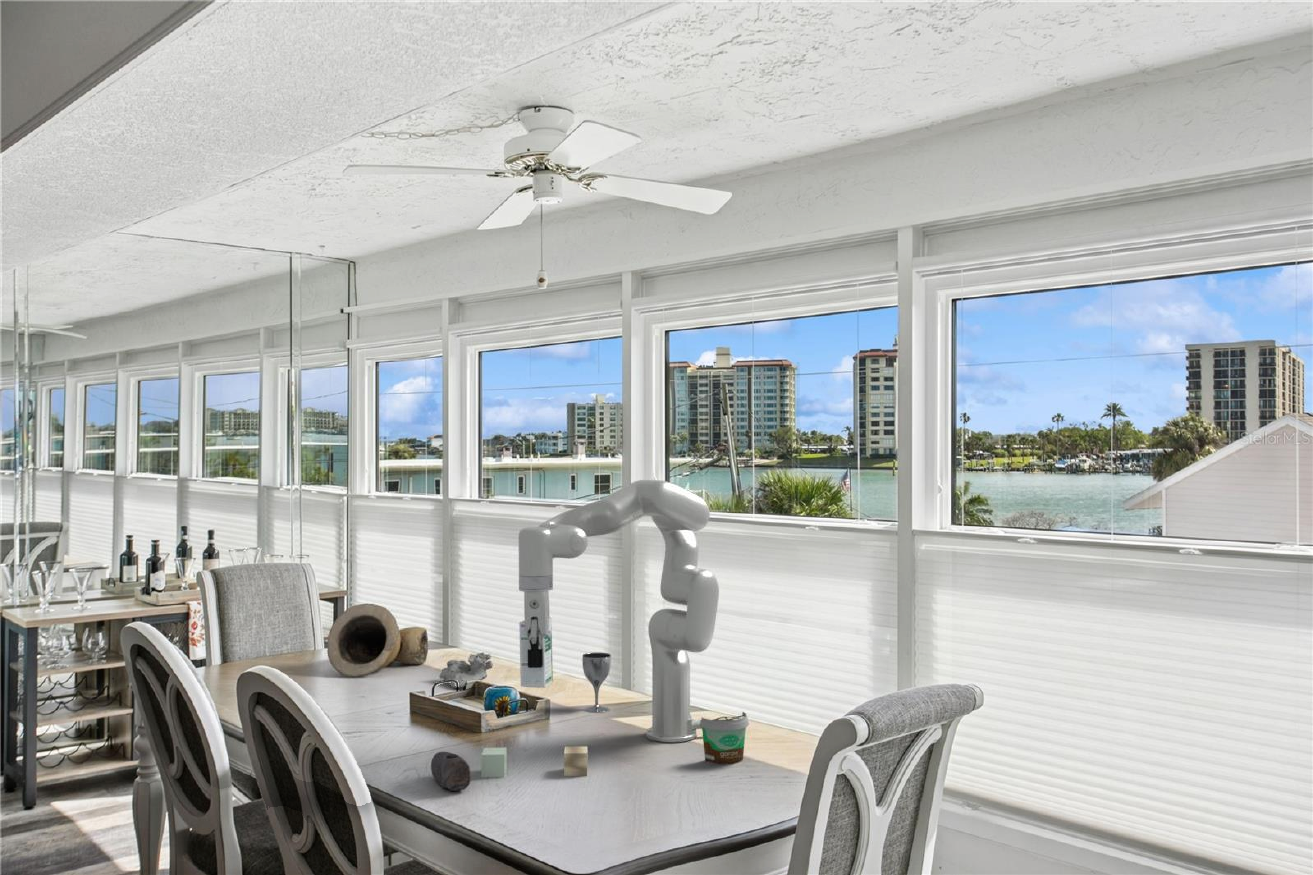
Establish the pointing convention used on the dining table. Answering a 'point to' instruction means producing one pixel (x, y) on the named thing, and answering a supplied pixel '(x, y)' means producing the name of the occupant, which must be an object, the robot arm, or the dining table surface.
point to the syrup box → (545, 673)
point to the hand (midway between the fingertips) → (536, 663)
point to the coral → (467, 669)
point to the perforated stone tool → (451, 771)
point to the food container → (724, 739)
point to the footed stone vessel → (373, 641)
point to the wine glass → (596, 675)
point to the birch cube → (575, 761)
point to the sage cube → (493, 762)
